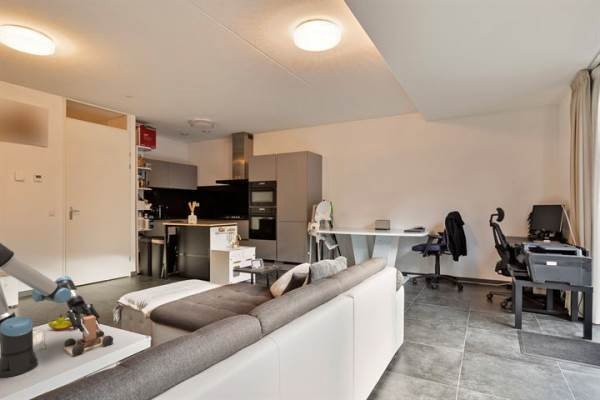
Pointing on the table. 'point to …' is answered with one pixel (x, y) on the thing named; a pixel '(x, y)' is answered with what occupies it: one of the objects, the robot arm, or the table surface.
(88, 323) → the pink rectangular block
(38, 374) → the table surface
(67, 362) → the table surface
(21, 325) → the robot arm
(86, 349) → the chassis
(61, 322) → the toy boat
